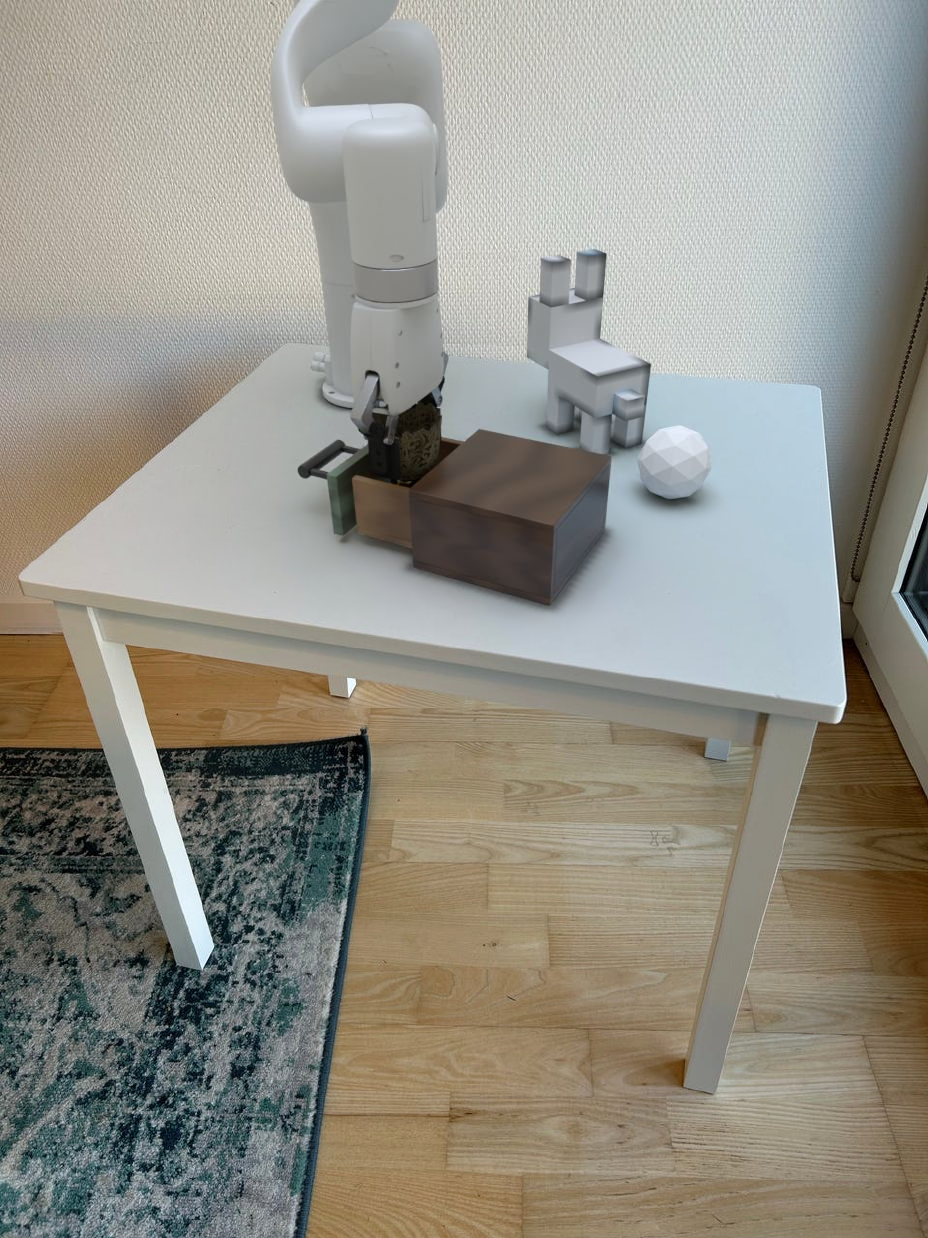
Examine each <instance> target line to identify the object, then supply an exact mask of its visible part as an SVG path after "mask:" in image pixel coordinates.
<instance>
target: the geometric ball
mask: <svg viewBox="0 0 928 1238" xmlns="http://www.w3.org/2000/svg"><path fill="white" fill-rule="evenodd" d="M709 448H710V447H709V446H708V444H707V442H706V441H705V439H704V438H703V436H702V435H701V433H700V432H698V431H695V430H693V429H690V428H688V427H685V426H684V425H680V424H679V425H673V426H669V427H668V426H667V427H662V428H659V429H657V430H656V432H654V433H653V434H652V435H651V436H650V437H649V438H648V439H647V440H646V441H645V442H644V444H643V447H642V448H641V450H640V452H639V454H638V456H637V459H636V461H637V465H638V472H639V478H640V480H641V482H642V483H643V484H644V485H645V487H646V488H647V490H648V491H649V492H650V493H652V494H655V495H657V496H660V497H662V498H664V499H667V500H674V499H680V498H681V499H682V498H688V497H690V496H692V495H693V494H694V493H695V492H696V491H697V490H699V489H700V488H701V487H702V486H703V484H704V483H705V481H706V479H707V477H708V476H709V473H710V472H711V470H712V468H713V464H712V460H711V454H710V449H709Z"/></svg>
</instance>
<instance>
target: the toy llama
mask: <svg viewBox="0 0 928 1238" xmlns="http://www.w3.org/2000/svg"><path fill="white" fill-rule="evenodd" d="M607 256H608V253H606V252H604V251H601V250H599V249H596V248H591V249H590V248H589V249H585V250H579V251H578V250H577V251H576V260H575V274H574V275H575V279H574V287H571V270H572V259H570V258H568V257H565V256H563V255H561V254H556V255H551V256H545V257H540V272H539V273H540V276H539V277H540V278H539V294H535V295H530V296H527V300H528V301H527V330H526V333H527V334H526V358H527V359H529V360H531V361H532V362H534V363H536V364H537V365H539V366H541V367H543V368H545V369H546V370H547V371H548V372H547V373H548V374H547V393H546V394H547V395H546V418H545V428H547V429H548V430H549V431H551V432H552V433H554V434H556V435H560V434H564V433H567V432H569V431H574V427H575V409H576V408H577V409H578V419H579V420H580V421H581V423H580V424H581V425H580V440H579V450H584V451H589V452H594V453H599V454H604V455H607V454H609V452H610V442H611V434H612V433H611V432H612V431H611V430H612V421H613V416H614V427H613V437H612V440H613V442H615V443H617V445H620V446H621V447H623V448H625V449H627V448H631V447H634V446H638V445H641V444H643V437H644V429H645V420H646V419H645V418H646V412H647V403H648V393H649V387H650V386H649V385H650V378H651V377H650V376H651V368H652V363H650V362H648V361H646V360H644V359H642V358H640V357H638V356H636V355H634V354H632V353H631V352H628V351H626V350H624V349H622V348H621V347H618V346H616V345H614V344H612V343H610V342H608V341H606V340H604V339H603V338H601V333H602V322H603V321H602V319H603V307H604V294H605V283H606V281H605V280H606V269H607Z"/></svg>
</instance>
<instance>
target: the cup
mask: <svg viewBox="0 0 928 1238" xmlns="http://www.w3.org/2000/svg"><path fill="white" fill-rule="evenodd" d="M379 407H380V406H379ZM384 408H386V409H389V408H388V404H387V405H386V406H385V407H384ZM440 411H441V408H440V409H439V410H438V412H436V409H435V407H434V406H433V404H432V403H429V404H428V405H426V406H424V404H423V403H422V402H420V401H419V402H418V403H417V404H416V409H415V408H411V407H410V408H408V409H407V410H406V411H404V412H403V413H401V414H399V418H398V423H397V428H396V433H395V438H394V440H395V441H399V452H400V467H401V477H400V478H399V479H398V480H392V479H390V482H391V484H395V485H399V486H403V487H407V488H411V487H412V486H413V485H415V484H416V483H417V482H418V481H419V480H420V479H422V478H423V477H424V476H425V475H426V474H427V473H429V472H430V471H431V470H432V469H433V468H434V466H435V464H436V462H437V458H438V453H439V446H440V435H441V436H442V422H443V415H442V414H440ZM387 417H388V416H386V415H381V414H379V415H378V420H377V423H379V424H380V425H381V426H382V427H383V428H385V427H386V422H387Z"/></svg>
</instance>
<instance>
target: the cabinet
mask: <svg viewBox="0 0 928 1238" xmlns="http://www.w3.org/2000/svg"><path fill="white" fill-rule="evenodd" d="M611 469H612V455H609V454H599V453H594V452H589V451H584V450H580V448H579V449H578V448H575V447H569V446H565V445H564V446H563V445H561V444H560V445H559V444H554V443H549V442H544V441H541V440H540V441H539V440H535V439H532V438H531V439H530V438H526V437H520V436H516V435H510V434H506V433H501V432H495V431H491V430H486V429H482V428H478V429H477V430H476V431H475V432H474V433H472V434H471V435H470V436H469V437H468V438H466V439H465V440H464V442H463V443H462V444H461V445H460V446H459V447H457V448H456V449H455V450H454V451H453V452H452V453H451V454H449V455H448V456H447V457H446V458H445V459H444V460H442V461H441V462H440V463H439V464H438V465H437V466H435V467H434V468H433V469H432V470H431V471H430V472H429V473H427V474H426V475H425V476H424V477H423V478H422V479H420V480H419V481H418V482H417V483H416V484H415V485H413V486H412V487H411V488H410V489H409V490H408V493H409V509H410V525H411V540H412V548H411V554H412V567H413V568H415V569H420V570H422V571H426V572H430V573H433V574H437V575H441V576H444V577H448V578H451V579H454V580H458V581H461V582H465V583H469V584H472V585H476V586H479V587H482V588H485V589H486V588H487V589H489V590H494V591H497V592H501V593H504V594H507V595H511V596H515V597H518V598H523V599H525V600H529V601H532V602H536V603H540V604H542V605H546V606H551V605H552V603H553V602H554V600H555V599H556V598H557V596H558V595H559V594H560V593H561V591H562V590H563V588H564V587H565V586H566V584H567V583H568V582H569V580H570V579H571V577H572V576H573V575H574V573H575V572H576V571H577V570H578V568H579V567H580V565H581V564H582V562H583V561H584V560H585V559H586V557H587V556H588V554H589V553H590V552H591V550H592V549H593V548H594V546H595V545H596V544H597V542H598V541H599V540H600V538H601V537H602V535H603V534H604V533H605V530H606V521H607V513H608V511H607V510H608V501H609V491H610V479H611Z"/></svg>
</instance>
